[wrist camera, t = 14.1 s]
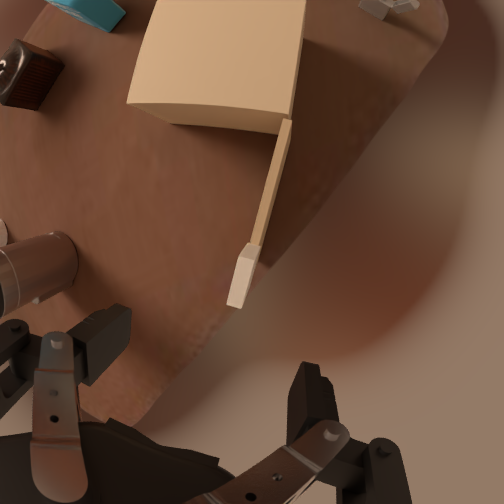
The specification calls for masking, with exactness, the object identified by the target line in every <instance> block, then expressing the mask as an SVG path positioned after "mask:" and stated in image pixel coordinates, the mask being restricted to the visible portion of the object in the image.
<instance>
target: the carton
mask: <svg viewBox="0 0 504 504" xmlns="http://www.w3.org/2000/svg"><path fill="white" fill-rule="evenodd" d="M306 1H307V0H157V2H156V5H155V8H154V10H153V13H152V16H151V19H150V21H149V24H148V27H147V30H146V33H145V36H144V39H143V43H142V46H141V49H140V52H139V56H138V59H137V63H136V67H135V70H134V74H133V78H132V82H131V86H130V90H129V95H128V99H127V104H129V105H131V106H133V107H136V108H138V109H140V110H142V111H144V112H147V113H149V114H151V115H153V116H155V117H157V118H159V119H162V120H164V121H166V122H168V123H170V124H185V125H199V126H211V127H221V128H231V129H239V130H247V131H255V132H262V133H269V134H275V135H279V132H280V128H281V124H282V121H283V118H284V119H288V120H291V115H292V109H293V103H294V96H295V90H296V83H297V77H298V70H299V64H300V57H301V50H302V44H303V36H304V25H305V13H306Z"/></svg>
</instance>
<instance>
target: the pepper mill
mask: <svg viewBox="0 0 504 504" xmlns="http://www.w3.org/2000/svg"><path fill="white" fill-rule="evenodd" d="M63 68H64V64H63V63H62V62H61V61H60V60H59V59H58V58H56V57H55V56H54V55H53V54H52V53H50V52H49V51H48V50H44V49H41V48H39V47H36V46H34V45H32V44H29V43H27V42H24V41H21V40H19V39H14V41H13V43H12V44H11V46H10V47H9V49H8V50H7V51H6V52H5V54H4V55H3V57H2V58H1V59H0V103H1V104H2V105H4V106H10V107H17V108H24V109H29V110H34V111H36V110H37V109H38V108H39V106H40V105H41V103H42V102H43V100H44V98H45V97H46V95H47V93H48V92H49V90H50V88H51V87H52V85H53V84H54V82H55V80H56V79H57V77H58V75H59V74H60V72H61V71H62V69H63Z"/></svg>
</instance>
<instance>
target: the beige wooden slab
mask: <svg viewBox="0 0 504 504" xmlns="http://www.w3.org/2000/svg"><path fill="white" fill-rule="evenodd" d="M291 129H292V120H288V119H284V118H283V121H282V124H281V128H280V132H279V136H278V139H277V143H276V147H275V150H274V154H273V158H272V162H271V165H270V169H269V173H268V177H267V180H266V184H265V188H264V192H263V196H262V199H261V203H260V207H259V211H258V214H257V218H256V222H255V226H254V230H253V233H252V237H251V241H250V243H247V244H246V246H245V247H244V249H243V250H242V252H241V253H240V255H239V256H238V260H237V264H236V268H235V272H234V276H233V280H232V284H231V288H230V292H229V296H228V300H227V304H226V305H229V306H233V307H236V308H240V309H242V306H243V303H244V301H245V298H246V295H247V293H248V290H249V287H250V284H251V280H252V276H253V273H254V270H255V267H256V265H257V262H258V259H259V256H260V252H261V248H262V245H263V241H264V238H265V234H266V230H267V227H268V223H269V219H270V216H271V212H272V208H273V204H274V201H275V197H276V193H277V190H278V186H279V182H280V178H281V175H282V171H283V167H284V164H285V160H286V156H287V152H288V149H289V145H290V141H291Z"/></svg>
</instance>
